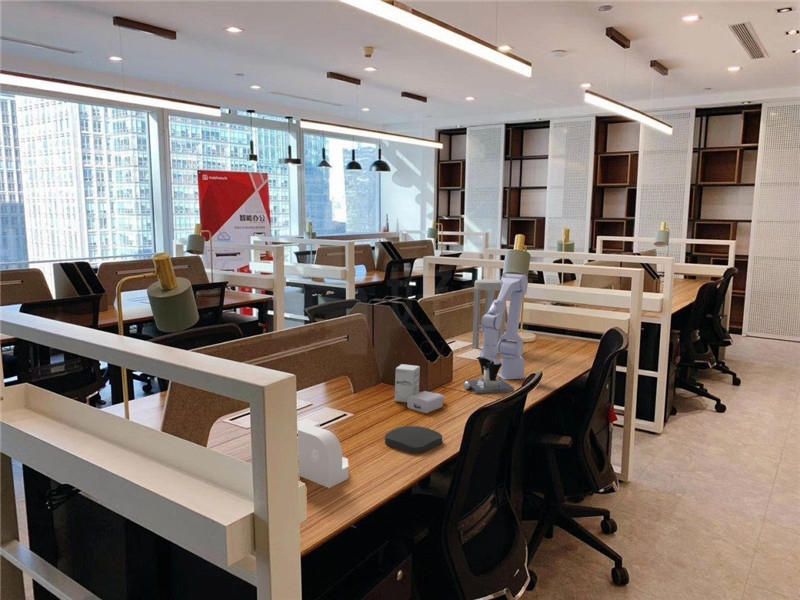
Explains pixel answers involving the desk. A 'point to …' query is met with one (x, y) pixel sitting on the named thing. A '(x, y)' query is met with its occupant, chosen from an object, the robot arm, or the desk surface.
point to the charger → (425, 401)
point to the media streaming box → (413, 439)
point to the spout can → (486, 374)
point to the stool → (490, 288)
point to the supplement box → (406, 382)
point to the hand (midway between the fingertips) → (488, 377)
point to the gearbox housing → (487, 386)
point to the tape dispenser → (320, 455)
